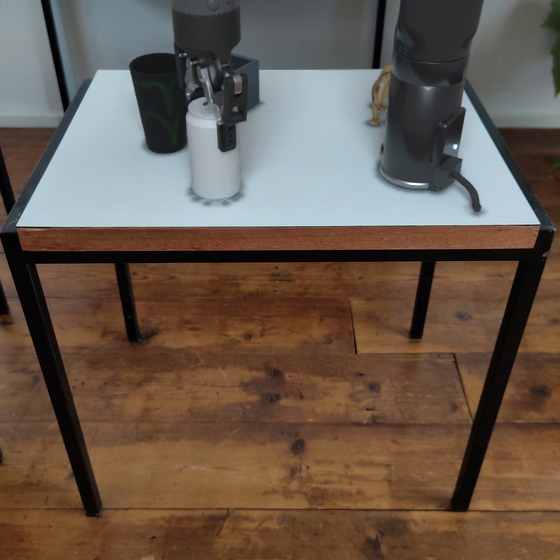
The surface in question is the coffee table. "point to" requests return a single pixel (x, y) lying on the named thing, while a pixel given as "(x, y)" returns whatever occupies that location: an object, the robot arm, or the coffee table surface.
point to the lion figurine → (380, 93)
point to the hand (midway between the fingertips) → (213, 137)
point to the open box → (252, 72)
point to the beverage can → (211, 155)
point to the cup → (160, 101)
